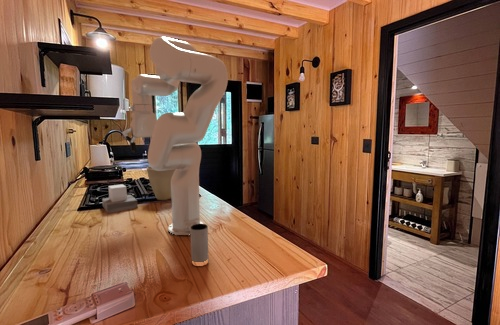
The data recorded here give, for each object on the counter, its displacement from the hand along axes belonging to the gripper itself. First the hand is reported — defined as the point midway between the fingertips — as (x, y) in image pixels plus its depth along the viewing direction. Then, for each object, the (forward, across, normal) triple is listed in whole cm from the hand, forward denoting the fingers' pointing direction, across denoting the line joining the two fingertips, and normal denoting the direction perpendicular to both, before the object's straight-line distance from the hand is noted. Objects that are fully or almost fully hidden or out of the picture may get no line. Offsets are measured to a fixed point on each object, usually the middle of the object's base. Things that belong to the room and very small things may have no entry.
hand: (146, 151), depth 113 cm
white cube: (+21, -9, +14) cm, 27 cm away
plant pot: (+25, +12, +16) cm, 32 cm away
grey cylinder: (+28, -4, -52) cm, 59 cm away
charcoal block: (+25, -9, +14) cm, 30 cm away
